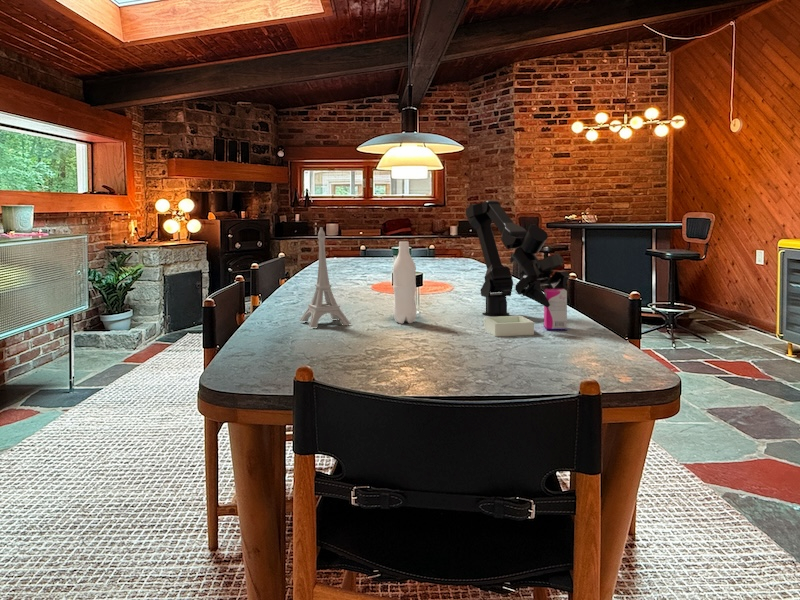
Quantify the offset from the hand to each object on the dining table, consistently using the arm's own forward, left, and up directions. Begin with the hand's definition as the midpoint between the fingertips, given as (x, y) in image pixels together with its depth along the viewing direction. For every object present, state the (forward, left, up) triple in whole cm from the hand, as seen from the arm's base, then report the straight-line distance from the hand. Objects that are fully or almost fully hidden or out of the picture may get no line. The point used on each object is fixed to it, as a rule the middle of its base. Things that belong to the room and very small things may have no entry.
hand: (559, 304), depth 181 cm
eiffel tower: (-54, -45, -8) cm, 71 cm away
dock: (-7, -13, -7) cm, 17 cm away
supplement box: (-1, 0, -7) cm, 8 cm away
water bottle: (-39, -25, -7) cm, 47 cm away
